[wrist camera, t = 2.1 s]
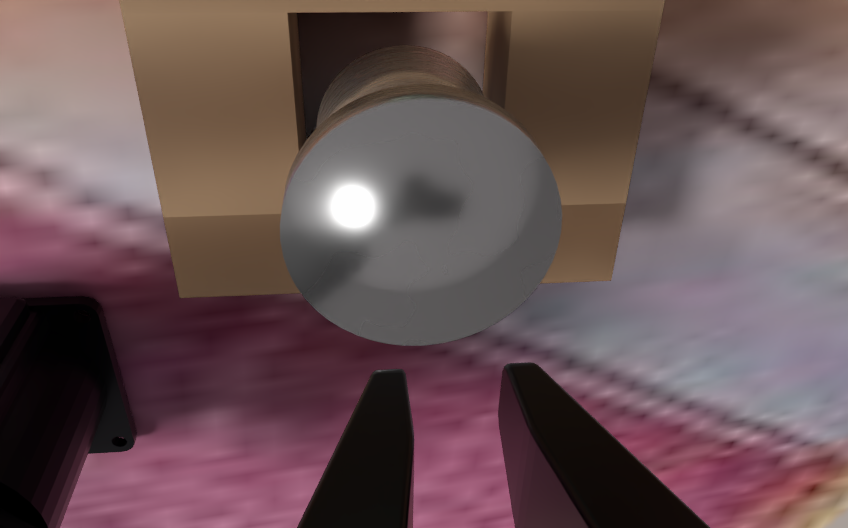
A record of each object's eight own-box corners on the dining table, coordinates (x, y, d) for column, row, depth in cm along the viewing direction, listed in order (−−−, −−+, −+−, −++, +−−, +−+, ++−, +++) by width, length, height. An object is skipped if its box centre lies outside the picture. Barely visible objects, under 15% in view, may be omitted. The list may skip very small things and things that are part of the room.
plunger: (501, 222, 18) (545, 339, 14) (302, 228, 18) (291, 351, 14) (520, 20, 16) (579, 97, 12) (284, 22, 15) (265, 103, 11)
